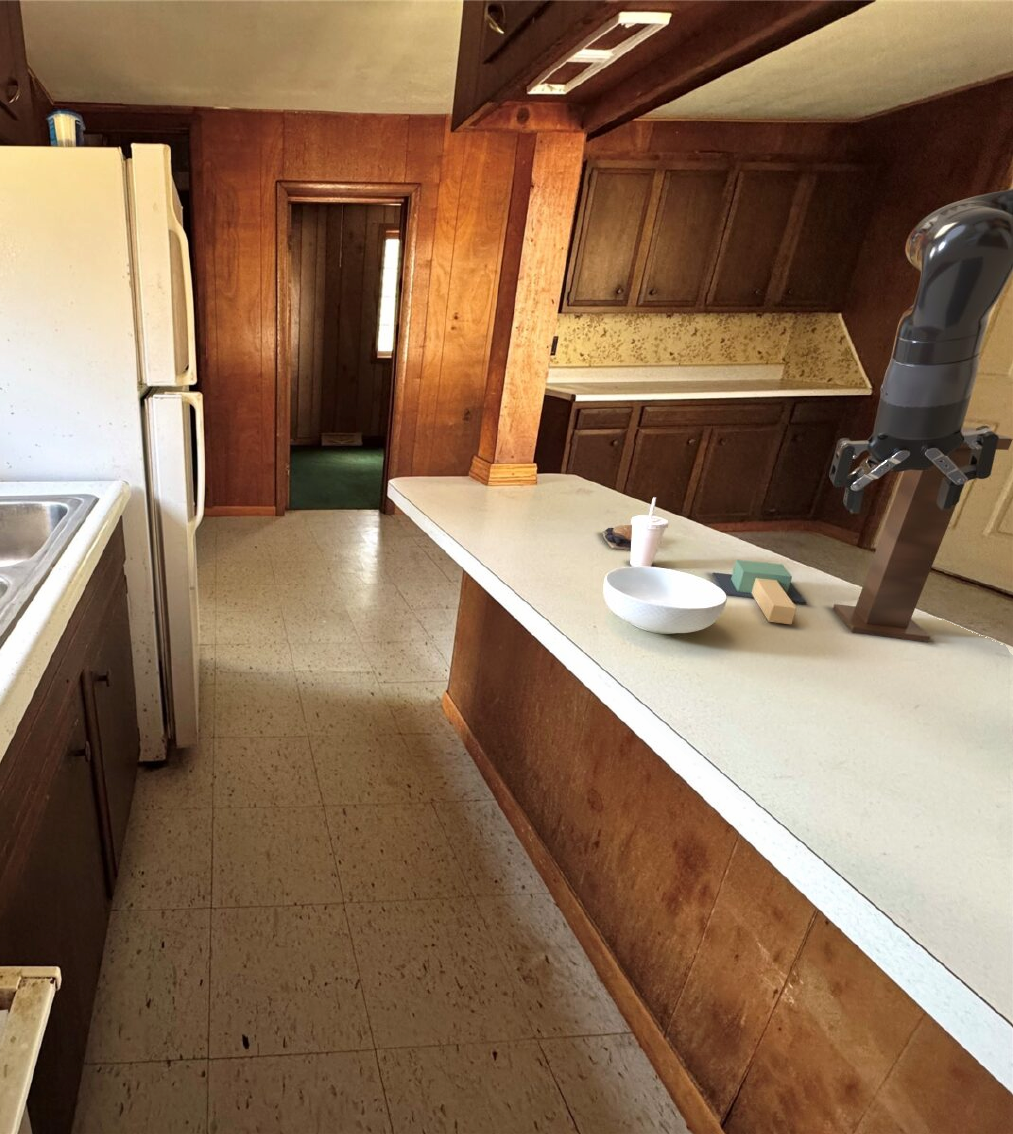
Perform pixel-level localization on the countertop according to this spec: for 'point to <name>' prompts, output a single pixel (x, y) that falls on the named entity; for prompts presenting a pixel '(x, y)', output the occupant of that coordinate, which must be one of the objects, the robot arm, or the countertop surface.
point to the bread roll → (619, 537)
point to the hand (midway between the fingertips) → (897, 508)
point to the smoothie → (646, 537)
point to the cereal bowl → (663, 599)
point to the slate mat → (730, 589)
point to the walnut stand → (905, 554)
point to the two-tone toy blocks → (766, 588)
